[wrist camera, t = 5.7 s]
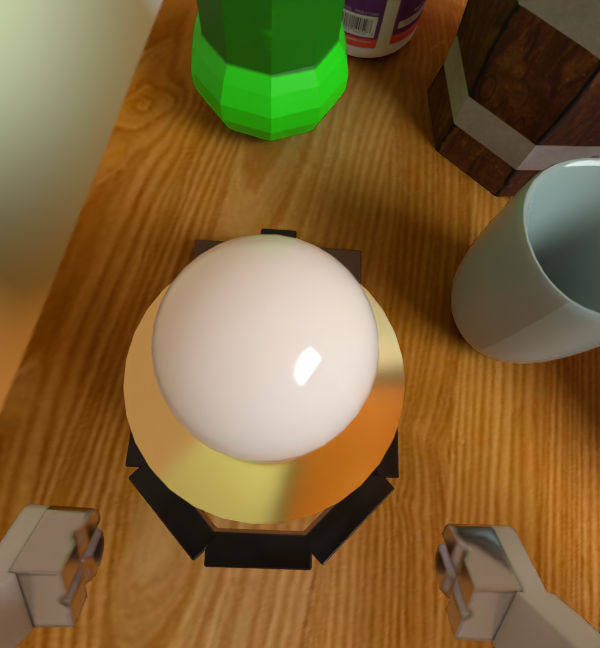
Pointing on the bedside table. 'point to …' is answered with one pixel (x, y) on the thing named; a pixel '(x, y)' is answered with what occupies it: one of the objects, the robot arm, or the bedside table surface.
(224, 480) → the perfume bottle
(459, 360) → the bedside table surface
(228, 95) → the plastic bottle
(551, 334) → the cup
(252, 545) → the ring stand
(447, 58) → the mug
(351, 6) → the pill bottle
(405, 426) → the bedside table surface
